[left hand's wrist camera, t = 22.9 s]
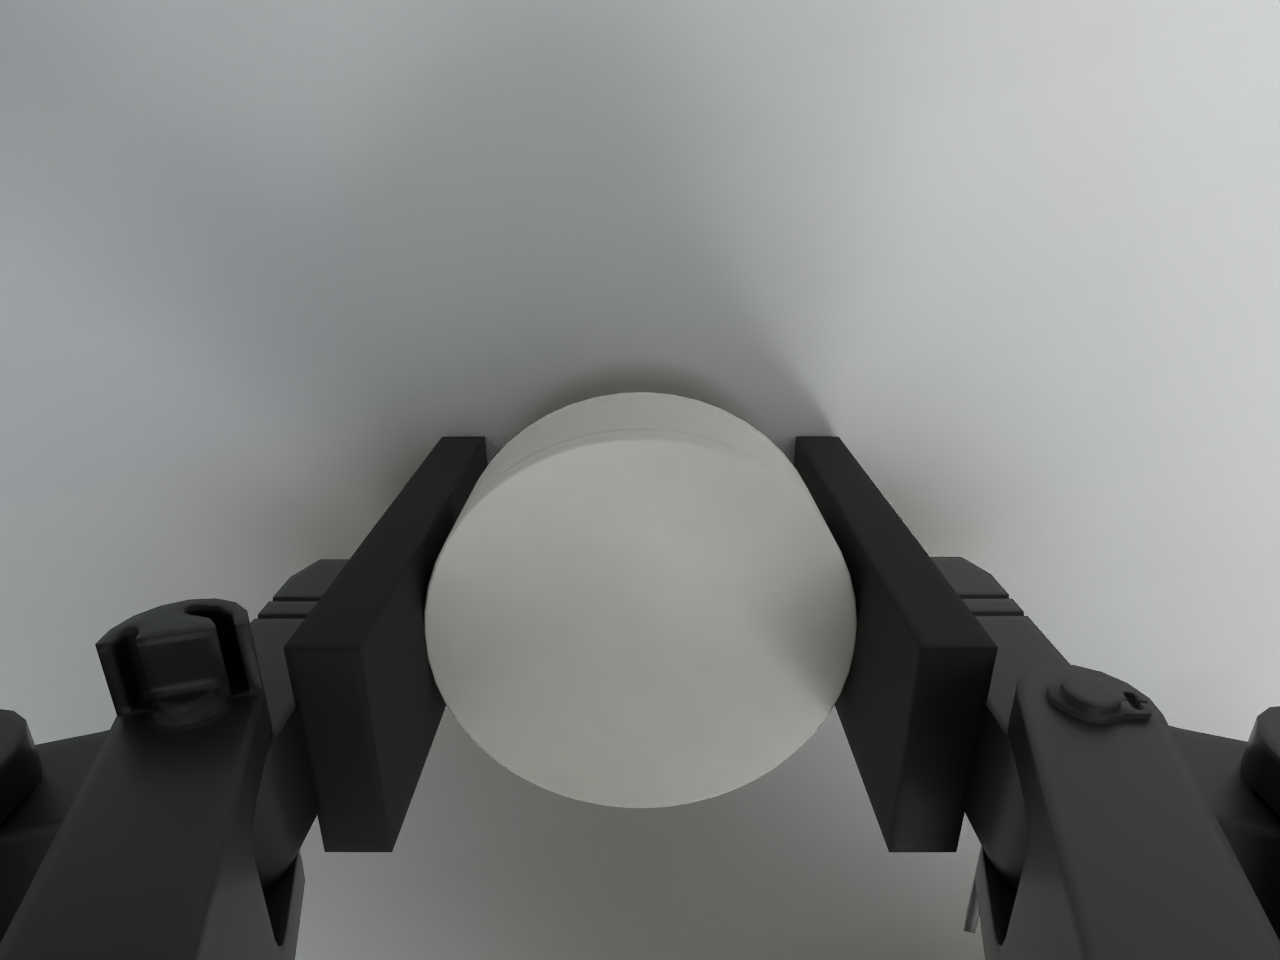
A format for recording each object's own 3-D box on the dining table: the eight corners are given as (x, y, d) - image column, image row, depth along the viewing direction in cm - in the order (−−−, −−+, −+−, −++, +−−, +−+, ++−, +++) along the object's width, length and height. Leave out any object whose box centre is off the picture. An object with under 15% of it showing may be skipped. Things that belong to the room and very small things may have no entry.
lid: (801, 719, 13) (829, 815, 11) (467, 710, 13) (436, 804, 11) (844, 397, 11) (888, 446, 9) (448, 384, 11) (406, 429, 9)
